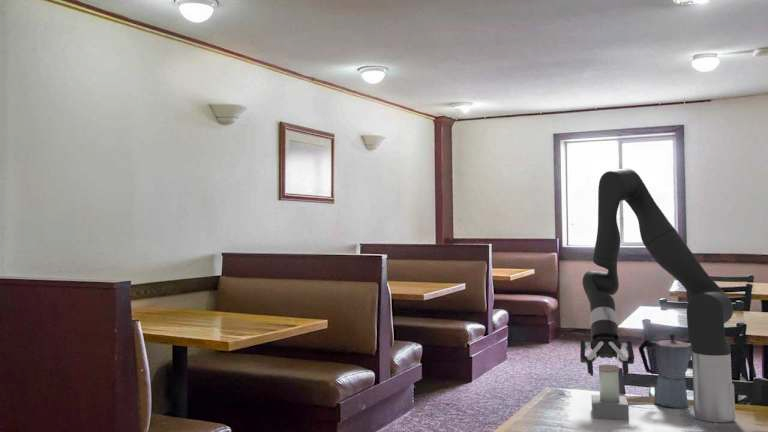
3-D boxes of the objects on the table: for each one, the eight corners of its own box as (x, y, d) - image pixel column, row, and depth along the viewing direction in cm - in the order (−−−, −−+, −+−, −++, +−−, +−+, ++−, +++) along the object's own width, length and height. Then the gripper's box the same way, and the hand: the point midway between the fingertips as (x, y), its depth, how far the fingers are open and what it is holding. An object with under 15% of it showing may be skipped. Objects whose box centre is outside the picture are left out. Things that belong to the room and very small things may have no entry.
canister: (619, 397, 182) (617, 364, 182) (620, 402, 177) (619, 368, 177) (599, 396, 184) (598, 364, 184) (600, 401, 179) (599, 368, 179)
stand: (625, 410, 183) (625, 396, 184) (628, 419, 175) (628, 404, 175) (591, 409, 186) (591, 394, 186) (593, 418, 177) (592, 403, 177)
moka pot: (703, 409, 182) (700, 337, 183) (644, 408, 185) (641, 336, 186) (694, 400, 192) (691, 331, 192) (638, 399, 195) (635, 331, 195)
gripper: (578, 318, 192) (581, 366, 180) (630, 318, 188) (636, 367, 177) (578, 333, 197) (581, 381, 185) (629, 334, 193) (635, 383, 182)
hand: (608, 374), depth 181 cm, fingers open, 8 cm apart
